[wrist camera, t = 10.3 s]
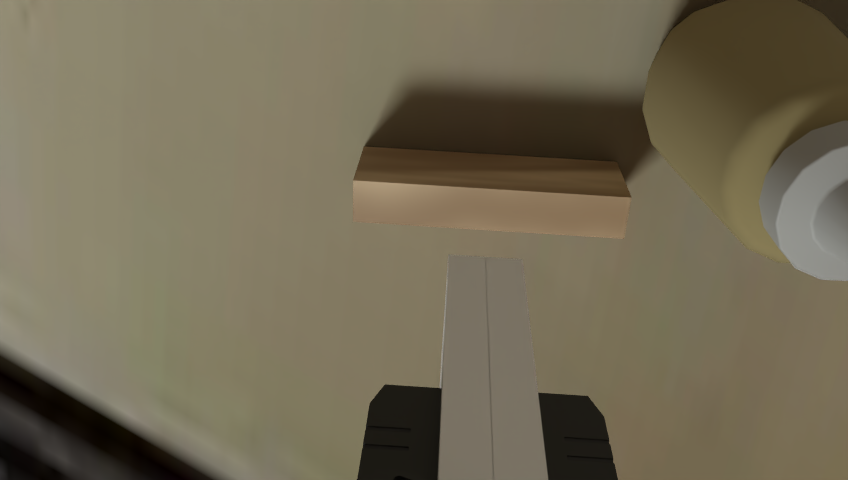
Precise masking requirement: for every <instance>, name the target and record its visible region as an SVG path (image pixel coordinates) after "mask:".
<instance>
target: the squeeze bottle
mask: <svg viewBox="0 0 848 480" xmlns="http://www.w3.org/2000/svg"><path fill="white" fill-rule="evenodd" d="M642 110H643V114H644V118H645V121H646V125H647V129H648V133H649V137H650V141H651V143H652V145H653V146H654V147H655V148H656V149H657V150H658V152H659V153H660V154H661V155H662V156H663V157H664V159H665V160H666V161H667V162H668V163H669V165H670V166H671V167H672V168H673V169H674V170H675V171H676V172H677V174H678V175H679V176H680V177H681V178H682V179H683V180H684V181H685V182H686V183H687V184H688V185H689V187H690V188H691V189H692V190H693V191H694V192H695V193H696V194H697V195H698V196H699V197H700V199H701V200H702V201H703V202H704V203H705V204H706V205H707V206H708V207H709V208H710V209H711V210H712V212H713V213H714V214H715V215H716V216H717V217H718V218H719V219H720V220H721V221H722V222H723V224H724V225H725V226H726V227H727V228H728V229H729V230H730V231H731V232H732V233H733V234H734V235H735V237H736V238H737V239H738V240H739V241H740V242H741V243H742V244H743V245H744V246H745V247H746V248H747V249H749V250H751V251H754V252H756V253H758V254H760V255H762V256H765V257H767V258H769V259H771V260H774V261H776V262H779V263H791V264H792V265H793V266H794V267H795V268H796V269H798V270H800V271H802V272H805V273H807V274H809V275H811V276H814V277H816V278H818V279H820V280H840V281H848V38H847V37H846V36H845V35H844V34H843V33H842V32H841V31H840V30H839V29H838V28H837V27H836V26H835V25H834V24H833V23H832V22H831V21H830V20H829V19H828V18H827V17H826V16H825V15H824V14H823V13H821V12H819V11H817V10H816V9H814V8H812V7H810V6H808V5H806V4H804V3H802V2H800V1H798V0H726V1H724V2H721V3H718V4H715V5H712V6H709V7H706V8H703V9H701V10H698V11H695V12H693V13H692V14H690V15H689V16H688V17H687V18H685V19H684V20H683V21H682V22H680V23H679V24H678V25H677V26H676V27H674V28H673V29H672V30H671V31H670V33H669V34H668V36H667V37H666V39H665V41H664V42H663V44H662V46H661V47H660V49H659V51H658V52H657V54H656V56H655V58H654V61H653V63H652V65H651V67H650V70H649V73H648V79H647V84H646V90H645V96H644V102H643V108H642Z"/></svg>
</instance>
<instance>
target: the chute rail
mask: <svg viewBox="0 0 848 480" xmlns="http://www.w3.org/2000/svg"><path fill="white" fill-rule="evenodd" d="M630 203H631V195H630V193H629V190H628V188H627V185H626V183H625V181H624V178H623V176H622V173H621V171H620V168H619V166H618V164H617V162H613V161H596V160H580V159H563V158H547V157H531V156H514V155H498V154H481V153H465V152H448V151H432V150H415V149H399V148H382V147H366V146H364V148H363V151H362V154H361V157H360V161H359V164H358V167H357V170H356V173H355V176H354V179H353V222H367V223H383V224H398V225H414V226H430V227H446V228H462V229H478V230H493V231H509V232H525V233H541V234H557V235H573V236H589V237H604V238H620V239H624V236H625V231H626V225H627V220H628V214H629V209H630Z"/></svg>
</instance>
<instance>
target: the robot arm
mask: <svg viewBox="0 0 848 480" xmlns="http://www.w3.org/2000/svg"><path fill="white" fill-rule="evenodd" d="M357 480H618V478H617V474H616V469H615V464H614V463H613V455H612V451H611V446H610V444H609V437H608V432H607V428H606V423H605V419H604V416H603V415H602V414H601V412H600V411H599V410H598V409H597V407H596V406H595V405H594V403H593V402H592V401H591V400H590V398H589V397H588V396H579V395H564V394H549V393H538V388H537V379H536V371H535V362H534V354H533V345H532V337H531V328H530V320H529V311H528V302H527V294H526V285H525V277H524V268H523V260H522V259H512V258H495V257H479V256H463V255H448V269H447V284H446V299H445V313H444V328H443V343H442V358H441V377H440V388H429V387H413V386H398V385H384V386H383V388H382V389H381V390H380V391H379V393H378V394H377V395H376V396H375V398H374V399H373V400H372V401H371V403H370V406H369V412H368V418H367V424H366V430H365V436H364V442H363V448H362V454H361V460H360V467H359V473H358V479H357Z"/></svg>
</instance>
